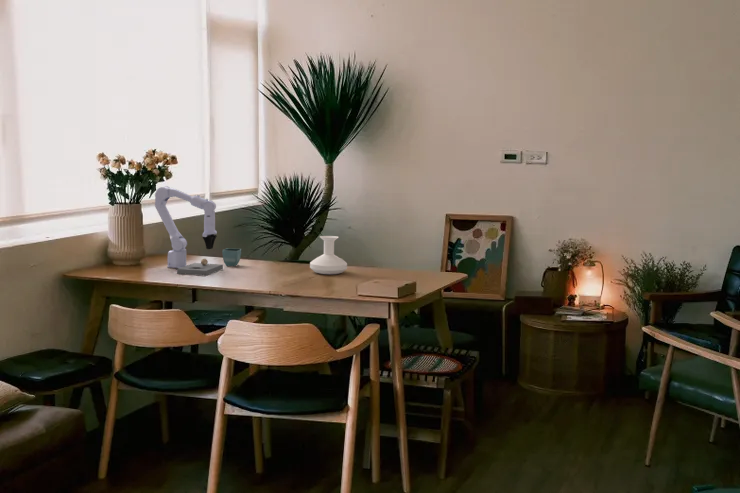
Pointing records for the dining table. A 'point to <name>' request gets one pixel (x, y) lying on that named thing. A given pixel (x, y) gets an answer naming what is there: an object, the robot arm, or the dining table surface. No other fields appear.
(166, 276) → the dining table surface
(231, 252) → the flower pot
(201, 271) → the board
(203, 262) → the ball
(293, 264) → the dining table surface
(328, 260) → the white vase
